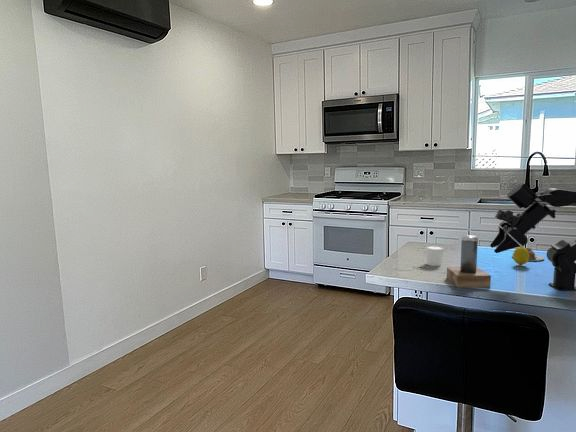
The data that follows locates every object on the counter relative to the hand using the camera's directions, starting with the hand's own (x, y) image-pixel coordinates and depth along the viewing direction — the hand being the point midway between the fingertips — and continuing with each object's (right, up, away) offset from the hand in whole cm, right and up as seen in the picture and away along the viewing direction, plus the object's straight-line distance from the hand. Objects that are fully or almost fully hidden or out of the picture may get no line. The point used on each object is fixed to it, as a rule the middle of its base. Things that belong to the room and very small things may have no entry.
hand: (492, 249), depth 145 cm
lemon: (+22, -9, +23) cm, 33 cm away
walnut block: (-7, -12, +4) cm, 14 cm away
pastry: (+32, -7, +35) cm, 48 cm away
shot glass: (-10, -9, +28) cm, 31 cm away
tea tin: (-7, -8, +3) cm, 11 cm away
